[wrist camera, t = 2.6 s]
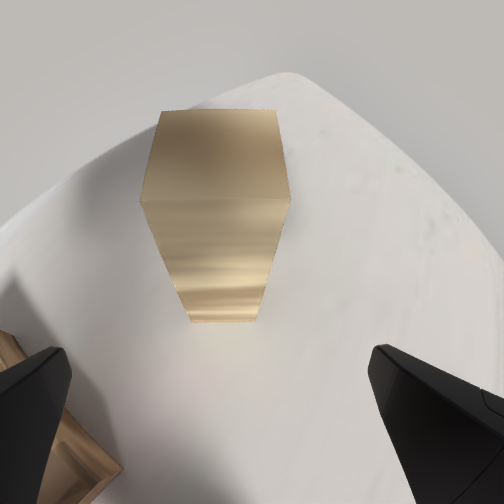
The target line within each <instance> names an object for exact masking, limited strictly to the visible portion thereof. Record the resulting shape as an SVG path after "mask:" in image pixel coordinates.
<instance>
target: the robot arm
mask: <svg viewBox="0 0 504 504" xmlns="http://www.w3.org/2000/svg"><path fill="white" fill-rule="evenodd" d="M368 376H369V379H370V383H371V386H372V389H373V392H374V395H375V399H376V402H377V405H378V409H379V412H380V415H381V417H382V420H383V422H384V425H385V427H386V429H387V432H388V434H389V436H390V439H391V441H392V443H393V446H394V448H395V451H396V453H397V456H398V458H399V460H400V463H401V465H402V468H403V470H404V473H405V475H406V478H407V480H408V483H409V486H410V488H411V491H412V493H413V496H414V499H415V501H416V504H504V398H501V397H499V396H497V395H494V394H492V393H490V392H488V391H486V390H483V389H480V388H479V387H477V386H475V385H472V384H470V383H468V382H466V381H464V380H462V379H460V378H457V377H455V376H453V375H451V374H449V373H447V372H445V371H443V370H440V369H438V368H436V367H434V366H432V365H430V364H428V363H426V362H424V361H422V360H420V359H417V358H415V357H413V356H411V355H409V354H407V353H405V352H403V351H401V350H399V349H397V348H395V347H393V346H391V345H389V344H383V345H377V346H375V347H374V348H373V351H372V355H371V358H370V362H369V366H368ZM71 378H72V370H71V367H70V364H69V361H68V359H67V356H66V353H65V351H64V349H63V348H61V347H54V346H51V347H48V348H46V349H44V350H43V351H41V352H39V353H37V354H35V355H33V356H31V357H29V358H27V359H25V360H23V361H21V362H19V363H17V364H15V365H13V366H12V367H10V368H8V369H6V370H4V371H2V372H0V504H37V500H38V496H39V492H40V488H41V484H42V480H43V476H44V472H45V469H46V465H47V462H48V458H49V455H50V451H51V448H52V445H53V442H54V439H55V436H56V432H57V429H58V426H59V424H60V420H61V417H62V413H63V409H64V405H65V401H66V397H67V393H68V389H69V385H70V381H71Z"/></svg>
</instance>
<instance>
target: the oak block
mask: <svg viewBox="0 0 504 504" xmlns="http://www.w3.org/2000/svg"><path fill="white" fill-rule="evenodd" d="M290 200H291V198H290V191H289V184H288V178H287V172H286V165H285V159H284V153H283V147H282V141H281V136H280V130H279V124H278V119H277V113H276V110H253V109H202V110H179V111H163V112H161V115H160V119H159V122H158V126H157V129H156V133H155V137H154V141H153V145H152V149H151V153H150V157H149V161H148V165H147V170H146V174H145V179H144V183H143V188H142V193H141V198H140V203H141V206H142V208H143V211H144V213H145V216H146V219H147V221H148V224H149V226H150V229H151V231H152V234H153V236H154V239H155V241H156V244H157V246H158V249H159V251H160V253H161V256H162V258H163V261H164V263H165V265H166V268H167V270H168V272H169V275H170V277H171V279H172V281H173V284H174V286H175V288H176V290H177V293H178V295H179V297H180V299H181V301H182V304H183V306H184V308H185V310H186V312H187V314H188V316H189V319H190V321H191V322H193V323H212V322H255V320H256V316H257V313H258V310H259V307H260V303H261V300H262V297H263V293H264V290H265V287H266V283H267V280H268V276H269V273H270V270H271V266H272V263H273V260H274V256H275V253H276V249H277V246H278V242H279V239H280V235H281V232H282V228H283V225H284V221H285V218H286V214H287V211H288V207H289V204H290Z"/></svg>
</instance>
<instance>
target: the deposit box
mask: <svg viewBox="0 0 504 504" xmlns="http://www.w3.org/2000/svg"><path fill="white" fill-rule="evenodd" d="M25 359H27V357H26V355H25V354H24V352H23V351H22V349H21V347H20V346H19V344H18V343H17V341H16V339H15V338H14V336H12V335H10V334H8V333H6V332H3V331H1V330H0V372H2V371H4V370H6V369H8V368H10V367H12V366H13V365H15V364H17V363H19V362H21V361H23V360H25ZM122 470H123V468H122V467H121V466H120V465H119V464H118V463H117V462H115V461H114V460H113V459H112V458H111V457H110V456H109V455H108V454H107V453H106V452H105V451H104V450H103V449H102V448H101V447H100V446H99V445H98V444H97V443H96V442H95V441H94V440H93V439H92V438H91V437H90V436H89V435H88V434H87V433H86V432H85V431H84V429H83V428H82V427H81V426H80V425H79V424H78V423H77V422H76V421H75V419H74V418H73V417H72V416H71V415H70V414H69V413H68V411H67V410H66V409H65V408H64V409H63V413H62V417H61V420H60V424H59V426H58V429H57V432H56V436H55V439H54V442H53V445H52V448H51V451H50V455H49V458H48V462H47V465H46V469H45V472H44V476H43V480H42V484H41V488H40V492H39V496H38V500H37V504H90V503H91V502H92V501H93V500H94V499H95V498H96V497H97V496H98V495H99V494H100V493H101V492H102V491H103V489H104V488H105V487H106V486H107V485H108V484H109V483H110V482H111V481H112V480H113V479H114V478H115V477H116V476H117V475H118V474H119V473H120V472H121V471H122Z"/></svg>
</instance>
